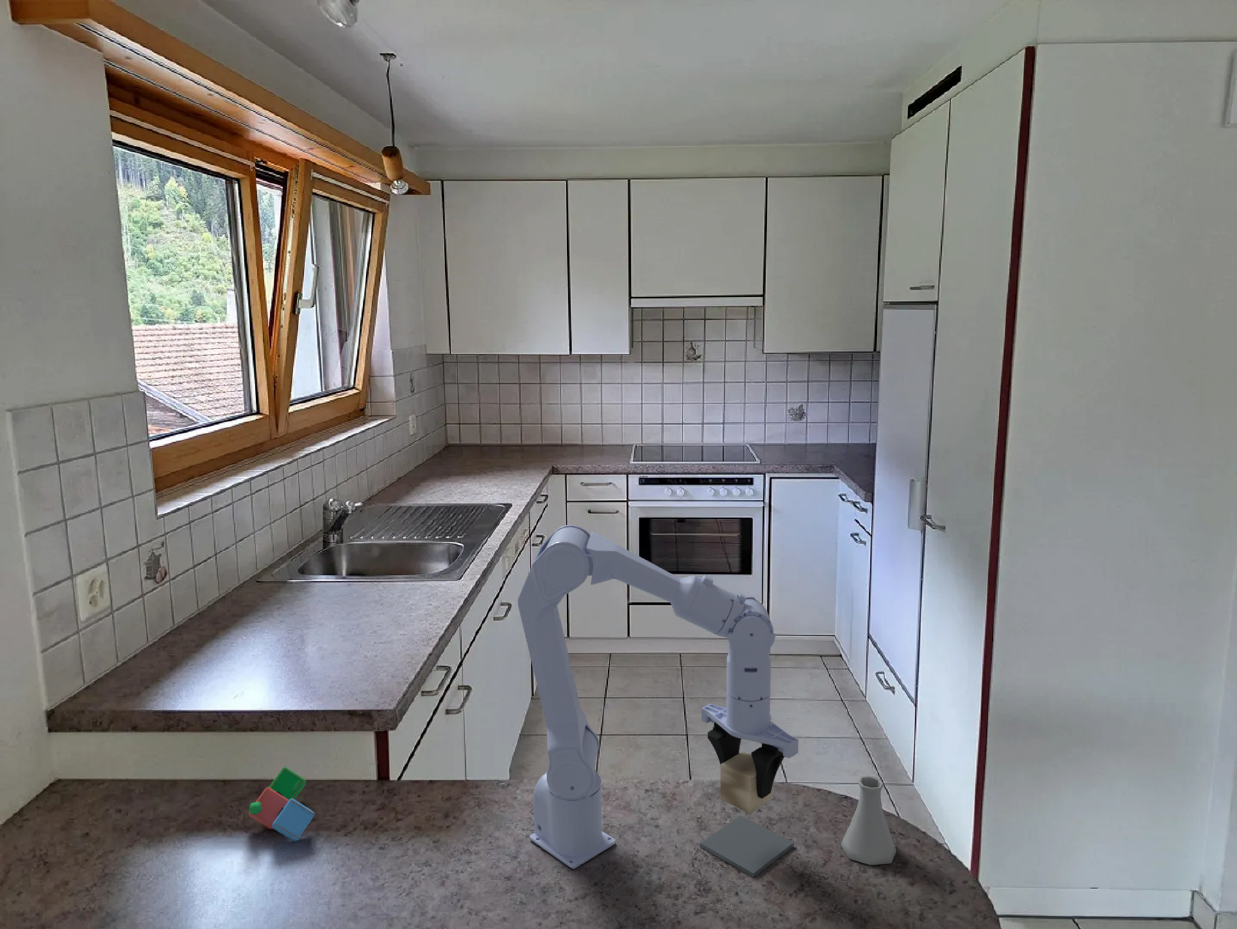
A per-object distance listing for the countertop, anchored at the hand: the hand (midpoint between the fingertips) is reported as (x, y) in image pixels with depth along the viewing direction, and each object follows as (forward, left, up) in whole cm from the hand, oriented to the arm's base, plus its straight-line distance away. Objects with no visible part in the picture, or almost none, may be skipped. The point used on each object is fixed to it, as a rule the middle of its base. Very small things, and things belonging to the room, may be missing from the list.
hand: (747, 786), depth 112 cm
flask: (+12, +11, -9) cm, 19 cm away
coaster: (0, 0, -9) cm, 9 cm away
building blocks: (-50, -42, -9) cm, 66 cm away
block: (0, 0, -2) cm, 2 cm away
